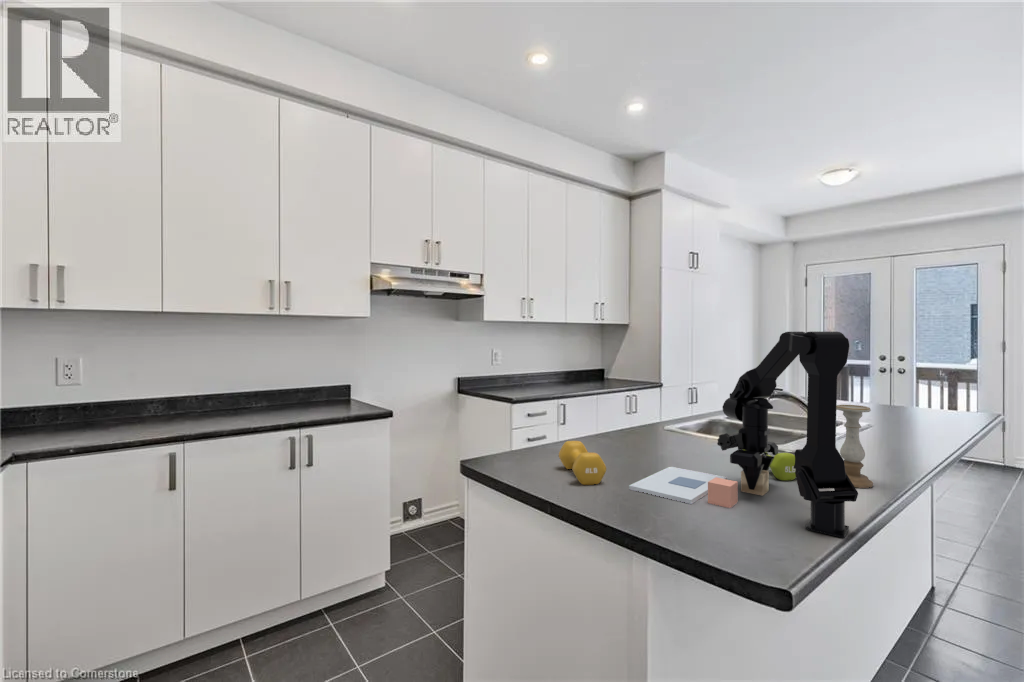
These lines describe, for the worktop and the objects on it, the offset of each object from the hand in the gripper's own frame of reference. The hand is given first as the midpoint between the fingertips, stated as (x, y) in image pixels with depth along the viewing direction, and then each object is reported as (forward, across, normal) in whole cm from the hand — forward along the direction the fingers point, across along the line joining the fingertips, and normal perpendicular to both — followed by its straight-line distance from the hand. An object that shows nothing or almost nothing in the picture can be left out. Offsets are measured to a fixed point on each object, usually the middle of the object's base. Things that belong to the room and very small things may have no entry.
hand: (754, 486), depth 120 cm
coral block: (+1, +14, -3) cm, 14 cm away
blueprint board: (+1, +8, -16) cm, 18 cm away
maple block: (+1, 0, 0) cm, 1 cm away
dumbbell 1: (+1, +18, -40) cm, 44 cm away
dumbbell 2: (+1, -20, -2) cm, 20 cm away
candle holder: (+1, -24, +17) cm, 29 cm away
